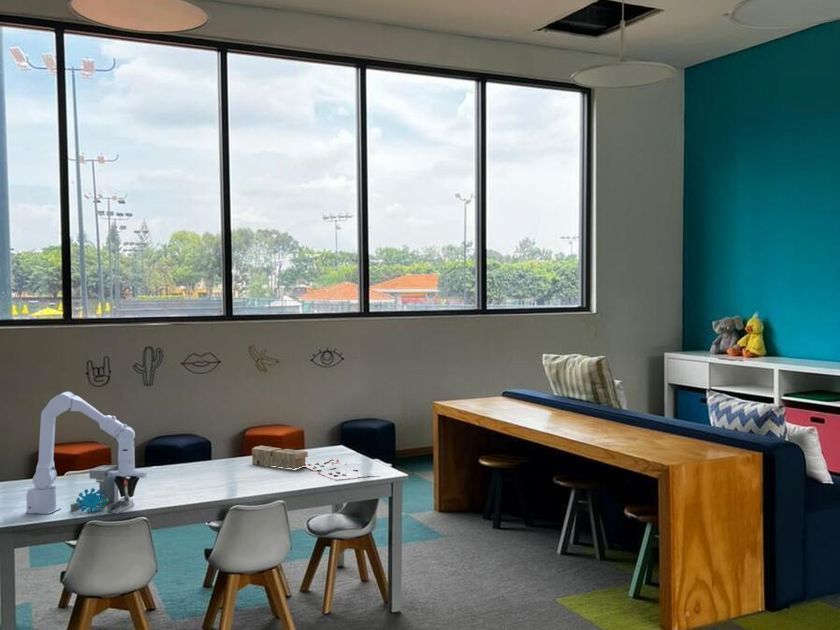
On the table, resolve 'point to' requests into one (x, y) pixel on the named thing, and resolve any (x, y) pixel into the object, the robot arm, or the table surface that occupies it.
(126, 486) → the lever handle
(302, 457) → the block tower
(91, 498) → the blue virus model
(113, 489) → the press frame
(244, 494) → the table surface
